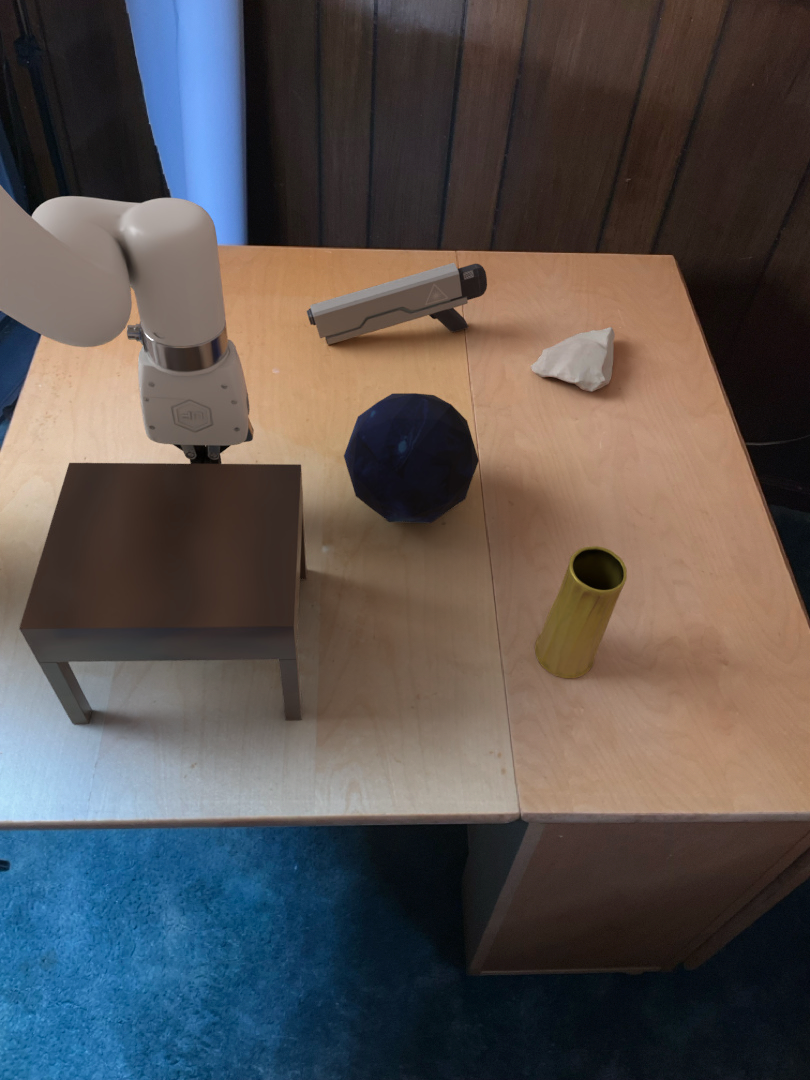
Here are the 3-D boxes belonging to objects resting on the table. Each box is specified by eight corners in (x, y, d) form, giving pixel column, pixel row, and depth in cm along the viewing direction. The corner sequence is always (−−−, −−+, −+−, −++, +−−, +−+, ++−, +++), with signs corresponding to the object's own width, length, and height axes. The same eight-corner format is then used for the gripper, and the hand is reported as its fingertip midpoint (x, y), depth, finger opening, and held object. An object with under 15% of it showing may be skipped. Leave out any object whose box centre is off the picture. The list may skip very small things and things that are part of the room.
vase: (584, 625, 85) (620, 539, 74) (601, 676, 81) (642, 593, 70) (528, 630, 84) (556, 544, 73) (542, 682, 80) (574, 599, 69)
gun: (492, 322, 116) (487, 263, 108) (325, 372, 115) (307, 316, 107) (487, 312, 117) (481, 252, 109) (322, 361, 117) (304, 305, 109)
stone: (528, 348, 108) (582, 302, 116) (522, 373, 111) (575, 326, 119) (597, 382, 104) (648, 332, 112) (589, 407, 107) (639, 356, 115)
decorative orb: (363, 547, 83) (449, 434, 77) (298, 456, 91) (372, 347, 85) (447, 558, 94) (528, 460, 88) (383, 476, 101) (453, 380, 96)
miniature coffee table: (72, 724, 74) (18, 628, 62) (111, 556, 87) (72, 449, 74) (301, 720, 76) (293, 626, 64) (307, 556, 88) (301, 451, 76)
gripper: (95, 361, 72) (133, 500, 86) (265, 366, 73) (274, 503, 87) (111, 311, 77) (144, 451, 91) (270, 317, 78) (278, 454, 92)
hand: (208, 476), depth 89 cm, fingers closed
